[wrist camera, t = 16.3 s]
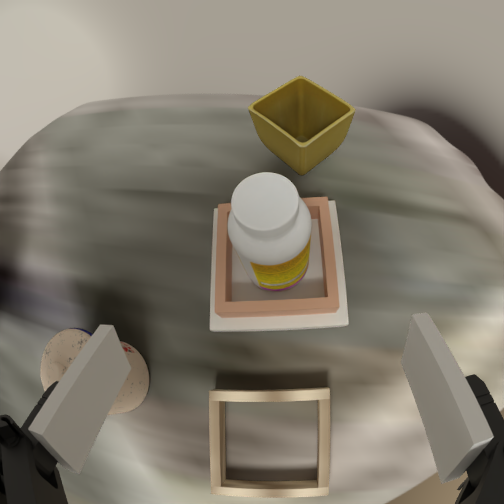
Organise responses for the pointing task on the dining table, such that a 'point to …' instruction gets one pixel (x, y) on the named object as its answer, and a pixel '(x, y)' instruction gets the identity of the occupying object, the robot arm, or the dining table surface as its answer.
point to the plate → (286, 302)
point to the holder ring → (267, 487)
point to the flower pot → (301, 123)
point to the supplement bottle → (270, 231)
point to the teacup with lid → (66, 350)
